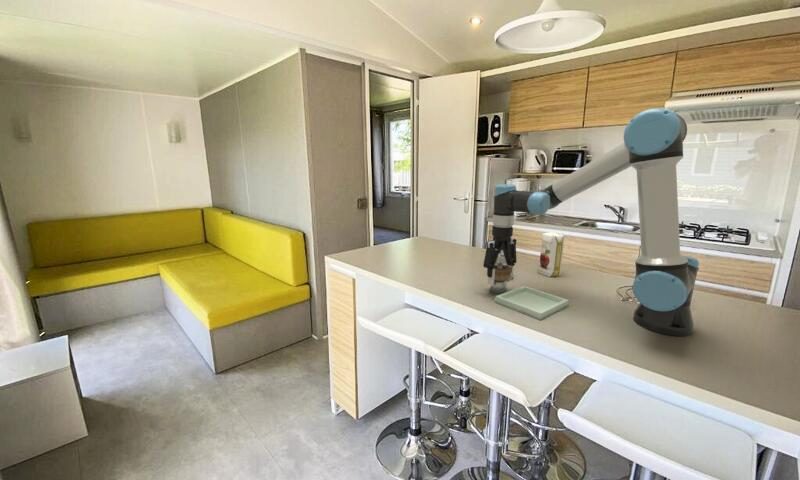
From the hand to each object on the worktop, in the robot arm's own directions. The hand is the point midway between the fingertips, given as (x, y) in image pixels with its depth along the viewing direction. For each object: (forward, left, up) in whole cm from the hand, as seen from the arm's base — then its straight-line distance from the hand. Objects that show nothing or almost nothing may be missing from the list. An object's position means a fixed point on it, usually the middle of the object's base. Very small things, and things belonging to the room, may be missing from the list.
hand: (499, 282), depth 134 cm
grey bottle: (0, 0, -4) cm, 4 cm away
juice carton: (0, -37, -4) cm, 37 cm away
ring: (0, 0, +2) cm, 2 cm away
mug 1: (+27, -34, -4) cm, 43 cm away
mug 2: (+12, -17, -4) cm, 21 cm away
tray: (-14, 0, -4) cm, 15 cm away
